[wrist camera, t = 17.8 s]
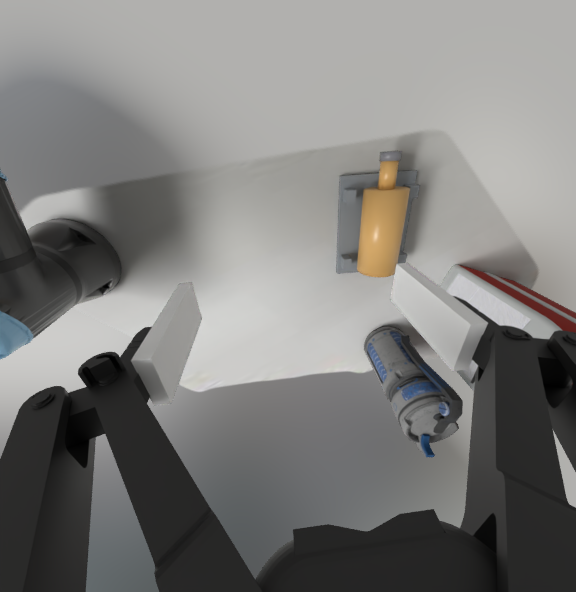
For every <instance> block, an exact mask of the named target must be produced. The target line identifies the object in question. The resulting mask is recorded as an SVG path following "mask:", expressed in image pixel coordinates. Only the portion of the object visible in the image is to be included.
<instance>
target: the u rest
mask: <svg viewBox="0 0 576 592" xmlns="http://www.w3.org/2000/svg"><path fill="white" fill-rule="evenodd" d="M416 176H417V170H411V171H397V178H396V185H395V186H402V187H408V188H410V193H409V199H408V204H407V210H406V216H405V222H404V228H403V234H402V240H401V245H400V251H399V257H398V263H397V264H399V263H405V262H406V257H407V254H406V253H404V252H403V249H404V244H405V238H406V232H407V227H408V221H409V215H410V210H411V204H412V199H413V198H418V192H419V187H420V185H416V184H415V181H416ZM378 181H379V173H371V174H358V175H344V176H340V182H339V209H338V236H337V263H336V272H337V274H340V273H352V272H359V271H358V270H357V261H358V249H359V237H360V225H361V213H362V201H363V190H364V189H365V188H369V187H378Z"/></svg>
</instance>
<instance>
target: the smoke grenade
mask: <svg viewBox="0 0 576 592" xmlns="http://www.w3.org/2000/svg"><path fill="white" fill-rule="evenodd" d="M364 350H365V353H366V355H367V357H368V359H369V361H370V363H371V365H372V368H373V370H374V372H375V374H376V376H377V378H378V380H379V382H380V384H381V386H382V388H383V390H384V393H385V395H386V397H387V399H389V400H390V402H391V407H392V409H393V411H394V414H395V415H396V418H397V420H398V422H399V424H400V426H401V428H402V429H403V432H404V433H405V435H406V436H407V437H408V438H409V439H410V440H411V441H413V442H415V443H416V445H417V447H418V449H419V450H420V451H421V452H422V453H423V454H424V455H425V456H426V457H434V456H435V455H434V453H433V452H432V450H431V448H430V445H429V443H433V442H437V441H440V440H443V439H445V438H447V437H449V436H450V435H452V434H453V433H455V432H456V431H457V430H458V429H459V427H458V424H457V423H456V421H457V419H458V418H459V417H460V416H461V415H462V400H461V398H460V397H459V396H458V395H457V393H456V392H455V391H454V390H453V389H452V388H451V387H450V386H449V385H448V384H447V383H446V382H445V381H444V380H443V379H442V378H441V377H440V376H439V375H438V374H437V373H436V372H435V371H434V370H433V369H432V368H431V367H429V366H428V365H427V364H426V363H425V362H424V360H423V359H422V358H421V356H420V355H419V353H418V352H417V351H416V349H415V348H414V347H413V345H412V344H411V343H410V340H409V335H408V336H405V335H404V333H403V332H402V331H401V330H399V329H397V328H394V327H381V328H378V329H376V331H375V330H374V331H373V332H371V333H370V334H369V335H368V337H367V338H366V341H365V344H364Z"/></svg>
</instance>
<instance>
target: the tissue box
mask: <svg viewBox="0 0 576 592" xmlns="http://www.w3.org/2000/svg"><path fill="white" fill-rule="evenodd" d="M440 287H441V288H442V289H444V290H445V291H446V292H448V293H449V294H450V295H452V296H456V297H458V298H461V299H463V300H465V301H467V302H468V303H469V304H471V305H472V306H473V307H475V308H476V309H478V310H479V312H482V313H483V314H485V315H486V316H487V317H489V318H490V319H491V320H493V321H494V322H496V323H497V324H498V325H500V326H502V325H507V326H513V327H516V328H519V329H522V330H524V331H526V332H527V333H529V334H530V335H531V336H532V337H533V338H540V339H550V337H551V335H552V334H553V333H554V331H558V330H562V331H570V332H576V313H575V312H573V311H571V310H569V309H567V308H565V307H563V306H561V305H559V304H558V303H555V302H554V301H551V300H550V299H548V298H546V297H544V296H542V295H540V294H538V293H536V292H534V291H533V290H531V289H529V288H527V287H525V286H523V285H521V284H519V283H517V282H515V281H512V280H508V279H505V278H502V277H498V276H495V275H493V274H491V273H488V272H485V271H483V272H481V271H478V270H475V269H471V268H468V267H464V266H461V265H457V264H455V265H453V266H452V267H451V269H450V271H449V272H448V274H447V275H446V277H445V278H444V280H443V281H442V283H441V284H440ZM477 367H478V365H477V364H476V363H475V362H474V361H473V360H472V361H471V364H470V366H469V368H468V370H460V371H457V372H458V373H459V374H460V376H461V377H462V378H463V379H464V380H465V382H466V383H467V384H468V385H469V386H470V387H471V389H472V390H473V391H474V386H475V382H474V383H473V384H472V383H471V381H472V378H473V376H474V374H475V372H476V370H477ZM572 384H573V383H572Z"/></svg>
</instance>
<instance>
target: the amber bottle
mask: <svg viewBox="0 0 576 592" xmlns="http://www.w3.org/2000/svg"><path fill="white" fill-rule="evenodd" d="M401 153H402V151H388V152H380V160H379V161H381V163H380V172H379V181H378V187H369V188H365V189H364V190H363V201H362V213H361V225H360V237H359V249H358V261H357V270H358V271H359V272H360V273H362V274H364V275H367V276H371V277H387V276H391V275H393V274H395V269H396V264H397V263H398V257H399V251H400V245H401V240H402V234H403V228H404V222H405V216H406V210H407V204H408V199H409V193H410V188H408V187H402V186H395V185H396V178H397V171H398V164H399V160H401Z"/></svg>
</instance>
